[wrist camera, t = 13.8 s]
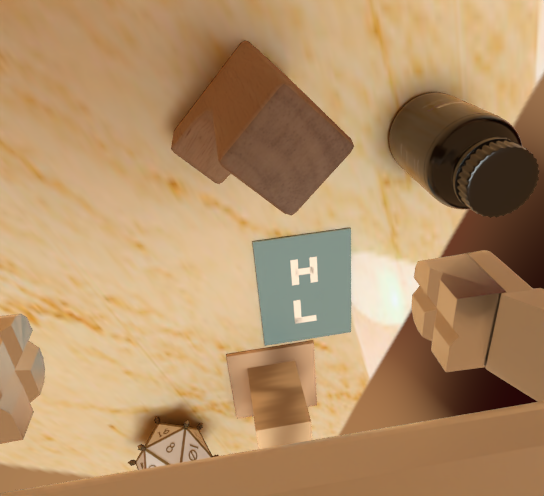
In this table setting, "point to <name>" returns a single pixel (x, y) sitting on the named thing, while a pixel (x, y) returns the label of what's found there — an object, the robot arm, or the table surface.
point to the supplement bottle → (463, 155)
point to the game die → (172, 446)
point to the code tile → (304, 285)
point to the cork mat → (268, 356)
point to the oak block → (279, 405)
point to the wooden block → (261, 132)
